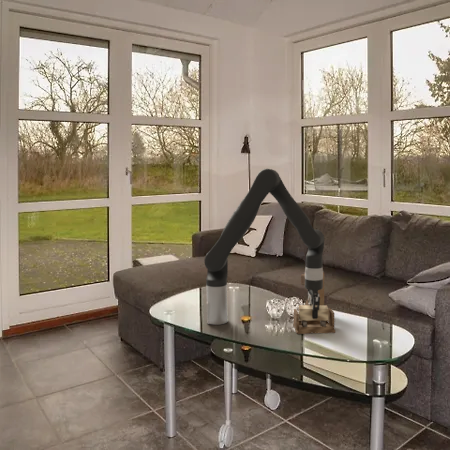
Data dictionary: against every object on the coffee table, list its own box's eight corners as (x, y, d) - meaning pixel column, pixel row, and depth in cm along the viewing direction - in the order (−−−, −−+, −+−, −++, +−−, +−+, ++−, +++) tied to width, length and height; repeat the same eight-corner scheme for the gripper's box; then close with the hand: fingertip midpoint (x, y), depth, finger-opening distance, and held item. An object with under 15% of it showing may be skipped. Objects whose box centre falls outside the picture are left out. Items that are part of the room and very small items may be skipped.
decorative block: (309, 319, 231) (310, 276, 228) (300, 316, 235) (300, 274, 232) (324, 314, 238) (325, 272, 235) (315, 311, 242) (315, 270, 239)
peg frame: (296, 333, 213) (297, 315, 212) (293, 325, 223) (293, 308, 222) (335, 332, 214) (335, 314, 213) (329, 324, 224) (329, 307, 222)
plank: (326, 316, 220) (326, 305, 219) (328, 320, 215) (328, 309, 214) (298, 316, 221) (298, 305, 220) (299, 320, 216) (299, 308, 215)
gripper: (326, 281, 208) (326, 321, 211) (319, 273, 222) (318, 310, 225) (308, 282, 208) (307, 322, 211) (302, 273, 222) (301, 311, 225)
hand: (313, 315), depth 218 cm, fingers open, 5 cm apart
